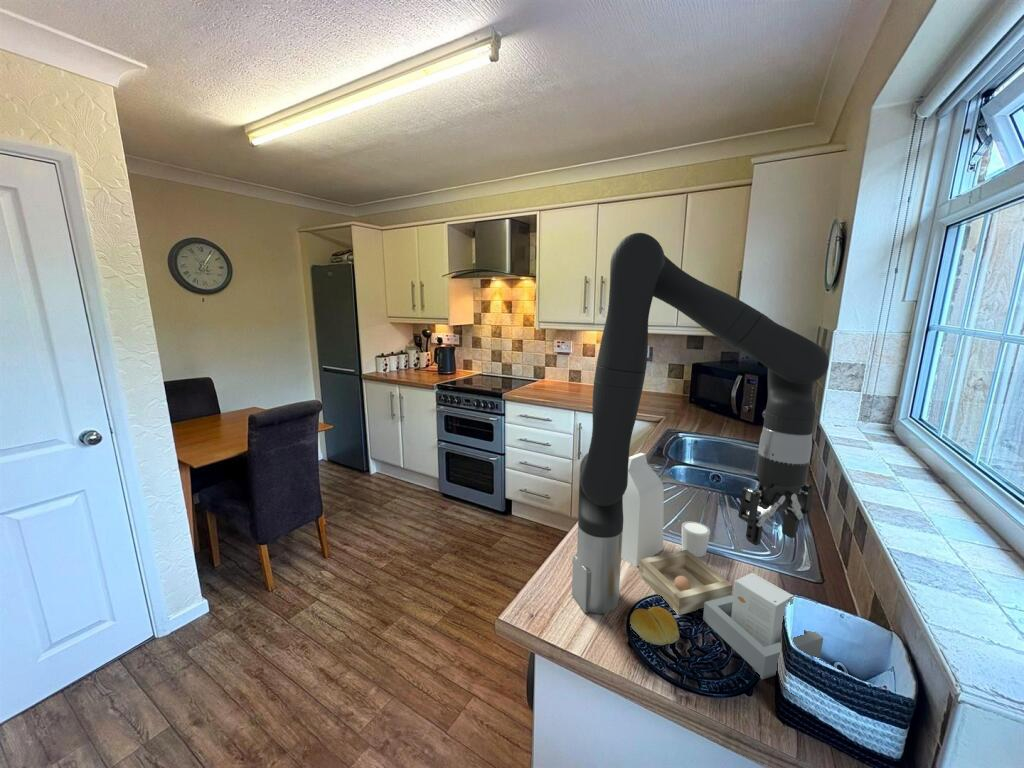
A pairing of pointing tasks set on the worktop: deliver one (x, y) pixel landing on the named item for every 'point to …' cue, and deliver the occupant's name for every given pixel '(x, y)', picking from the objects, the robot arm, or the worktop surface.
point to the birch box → (684, 563)
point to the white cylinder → (695, 538)
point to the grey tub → (746, 645)
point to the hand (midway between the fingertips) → (771, 539)
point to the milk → (642, 512)
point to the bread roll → (655, 625)
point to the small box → (759, 608)
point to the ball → (682, 583)
